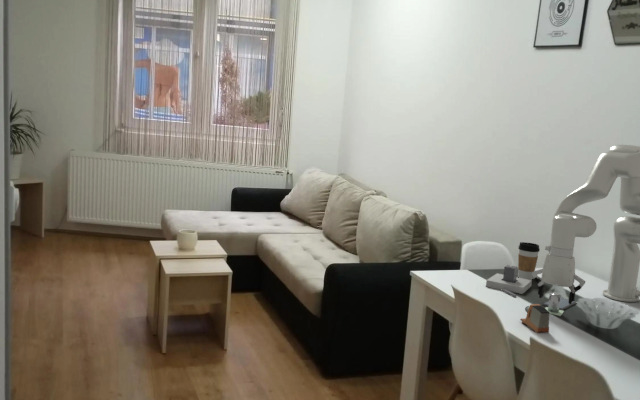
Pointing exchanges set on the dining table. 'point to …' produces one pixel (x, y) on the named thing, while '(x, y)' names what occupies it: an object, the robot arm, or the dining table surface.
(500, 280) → the plate
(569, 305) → the phone
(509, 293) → the cable
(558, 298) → the plug
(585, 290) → the dining table surface
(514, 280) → the charger
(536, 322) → the electronic device
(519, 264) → the coffee cup
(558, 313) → the pad
